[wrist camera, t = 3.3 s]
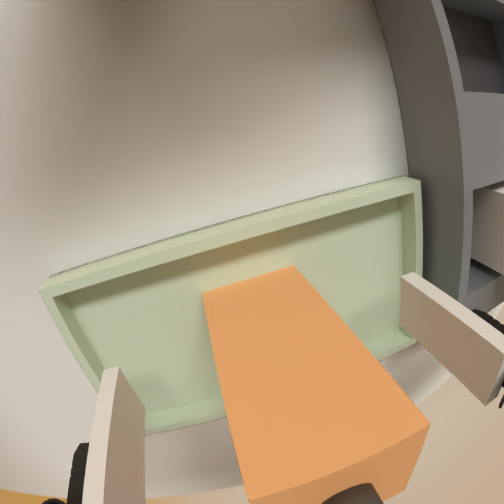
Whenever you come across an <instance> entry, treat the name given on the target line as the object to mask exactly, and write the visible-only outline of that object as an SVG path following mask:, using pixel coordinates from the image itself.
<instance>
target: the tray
mask: <svg viewBox="0 0 504 504" xmlns="http://www.w3.org/2000/svg"><path fill="white" fill-rule="evenodd" d="M292 265H294V266H295V267H296V268H297V269H298V270H299V271H300V272H301V274H302V275H303V276H304V277H305V278H306V279H307V280H308V281H309V283H310V284H311V285H312V286H313V287H314V288H315V289H316V290H317V292H318V293H319V294H320V295H321V296H322V297H323V298H324V299H325V301H326V302H327V303H328V304H329V305H330V306H331V307H332V309H333V310H334V311H335V312H336V313H337V314H338V315H339V317H340V318H341V319H342V320H343V321H344V322H345V323H346V325H347V326H348V327H349V328H350V329H351V330H352V331H353V333H354V334H355V335H356V336H357V337H358V338H359V340H360V341H361V342H362V343H363V344H364V345H365V346H366V348H367V349H368V350H369V351H370V352H371V353H372V355H373V356H374V357H375V358H376V359H377V360H378V361H380V360H382V359H384V358H386V357H389V356H391V355H393V354H395V353H397V352H399V351H401V350H403V349H405V348H407V347H409V346H411V345H413V344H415V343H417V340H416V339H415V338H414V337H413V336H412V335H411V334H410V333H409V332H407V331H406V330H405V329H404V328H403V327H402V326H401V325H400V324H399V320H400V284H401V276H403V275H406V274H408V273H411V272H414V273H416V274H418V275H419V276H421V277H422V272H423V217H422V195H421V180H417V179H413V178H409V177H405V176H399V177H395V178H390V179H386V180H382V181H378V182H374V183H369V184H365V185H361V186H357V187H353V188H349V189H345V190H341V191H337V192H333V193H329V194H325V195H321V196H317V197H313V198H309V199H306V200H302V201H298V202H294V203H290V204H287V205H283V206H279V207H275V208H272V209H268V210H264V211H261V212H257V213H253V214H250V215H246V216H243V217H239V218H235V219H232V220H228V221H225V222H221V223H218V224H214V225H211V226H207V227H204V228H201V229H197V230H194V231H190V232H187V233H184V234H180V235H177V236H173V237H170V238H167V239H164V240H160V241H157V242H154V243H150V244H147V245H144V246H141V247H137V248H134V249H131V250H128V251H125V252H122V253H118V254H115V255H112V256H109V257H106V258H103V259H100V260H97V261H93V262H90V263H87V264H84V265H81V266H78V267H75V268H72V269H69V270H66V271H63V272H60V273H57V274H54V275H52V276H50V277H49V278H48V279H47V280H46V282H45V283H44V284H43V285H42V287H41V288H40V289H39V292H40V294H41V296H42V298H43V300H44V302H45V304H46V306H47V308H48V310H49V312H50V314H51V316H52V318H53V319H54V321H55V323H56V325H57V327H58V329H59V331H60V332H61V334H62V336H63V338H64V339H65V341H66V343H67V345H68V346H69V348H70V350H71V351H72V353H73V355H74V356H75V358H76V360H77V361H78V363H79V365H80V366H81V368H82V369H83V371H84V372H85V374H86V375H87V377H88V379H89V380H90V382H91V383H92V385H93V386H94V387H95V389H96V390H97V392H98V393H99V389H100V384H101V379H102V375H103V370H104V369H109V368H113V367H118V366H119V367H120V369H121V370H122V372H123V374H124V375H125V377H126V379H127V380H128V382H129V384H130V385H131V387H132V388H133V390H134V392H135V393H136V395H137V396H138V398H139V399H140V401H141V402H142V404H143V405H144V407H145V435H147V434H153V433H158V432H163V431H168V430H173V429H178V428H182V427H187V426H191V425H196V424H200V423H204V422H208V421H212V420H216V419H220V418H223V417H227V414H226V410H225V406H224V401H223V397H222V392H221V388H220V383H219V378H218V374H217V369H216V364H215V359H214V354H213V349H212V344H211V339H210V334H209V329H208V324H207V318H206V313H205V307H204V302H203V296H202V293H203V292H206V291H209V290H213V289H216V288H220V287H223V286H226V285H230V284H233V283H236V282H240V281H243V280H246V279H250V278H253V277H256V276H259V275H263V274H266V273H269V272H273V271H276V270H279V269H282V268H285V267H289V266H292Z"/></svg>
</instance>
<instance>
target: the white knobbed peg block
mask: <svg viewBox="0 0 504 504" xmlns="http://www.w3.org/2000/svg"><path fill="white" fill-rule="evenodd" d="M471 258H473V259H474V260H476V261H478V262H480V263H482V264H484V265H486V266H488V267H489V268H491V269H493V270H495V271H497V272H499V273H500V274H502V275H504V181H501V182H498V183H495V184H491V185H488V186H485V187H481V188H478V189H475V190H473V225H472V245H471Z"/></svg>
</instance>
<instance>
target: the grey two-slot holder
mask: <svg viewBox="0 0 504 504" xmlns="http://www.w3.org/2000/svg"><path fill="white" fill-rule="evenodd" d="M374 3H375V6H376V9H377V12H378V16H379V19H380V22H381V26H382V29H383V33H384V36H385V40H386V44H387V48H388V52H389V56H390V60H391V64H392V69H393V73H394V78H395V83H396V87H397V93H398V98H399V103H400V109H401V115H402V121H403V128H404V135H405V142H406V150H407V159H408V168H409V178H413V179H417V180H421V195H422V217H423V272H422V278H424V279H425V280H427V281H428V282H430V283H431V284H433V285H434V286H436V287H437V288H439V289H440V290H442V291H443V292H445V293H446V294H448V295H449V296H450V297H452V298H453V299H455V300H456V301H458V302H459V303H461V304H462V305H463V306H465V307H466V308H468V309H469V310H471V311H472V310H473V309H477V310H480V311H483V312H486V313H487V312H489V311H490V310H492V309H493V308H495V307H496V306H497V305H499V304H500V303H502V302H503V301H504V275H502V274H500V273H499V272H497V271H495V270H493V269H491V268H489V267H488V266H486V265H484V264H482V263H480V262H478V261H476V260H474V259H473V258H471V245H472V225H473V190H475V189H478V188H481V187H485V186H488V185H491V184H495V183H498V182H501V181H504V0H374Z"/></svg>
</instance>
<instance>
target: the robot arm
mask: <svg viewBox="0 0 504 504" xmlns="http://www.w3.org/2000/svg"><path fill="white" fill-rule="evenodd" d="M399 324H400V325H401V326H402V327H403V328H404V329H405V330H406V331H407V332H409V333H410V334H411V335H412V336H413V337H414V338H415V339H416V340H417V341H418V342H419V343H420V344H421V345H423V346H424V347H425V348H426V349H427V350H428V351H429V352H430V353H431V354H432V355H433V356H434V357H435V358H436V359H437V360H438V361H440V362H441V363H442V364H443V365H444V366H445V367H446V368H447V369H448V370H449V371H450V372H451V373H452V374H453V375H454V376H455V377H456V378H457V379H458V380H459V381H460V382H461V383H462V384H463V385H464V386H465V387H467V389H469V391H470V392H471V393H473V395H475V396H476V397H477V398H478V399H479V400H480V401H481V402H482V403H483V404H484V405H485V406H486V405H487V404H488V403H490V402H491V401H492V400H493V399H495V398H496V397H497V396H498V394H499V391H500V389H501V387H502V386H503V387H504V325H503V324H502V325H501V323H500V322H499V321H497V320H496V319H495V320H494V318H493V317H492V316H490V315H489V314H487V313H486V312H483V311H480V310H477V309H473V310H472V311H471V310H469V309H468V308H466V307H465V306H463V305H462V304H461V303H459V302H458V301H456V300H455V299H453V298H452V297H450V296H449V295H448V294H446V293H445V292H443V291H442V290H440V289H439V288H437V287H436V286H434V285H433V284H431V283H430V282H428V281H427V280H425V279H424V278H422V277H421V276H419V275H418V274H416V273H414V272H411V273H408V274H406V275H403V276H401V284H400V320H399ZM503 403H504V395H503V398H502V399H501V402H500V404H499V408H501V407H502V405H503ZM144 441H145V407H144V405H143V404H142V402H141V401H140V399H139V398H138V396H137V395H136V393H135V392H134V390H133V388H132V387H131V385H130V384H129V382H128V380H127V379H126V377H125V375H124V374H123V372H122V370H121V369H120V367H119V366H118V367H113V368H109V369H104V370H103V375H102V379H101V384H100V389H99V393H98V398H97V403H96V408H95V414H94V419H93V425H92V430H91V436H90V443H80V444H79V446H78V448H77V450H76V451H75V453H74V456H73V462H72V466H73V467H72V468H71V476H70V482H69V489H68V497H67V504H145V469H144ZM42 504H66V503H64V502H63V501H61V500H59V499H56V498H55V499H48V500H46V501H44V502H43V503H42Z"/></svg>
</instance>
